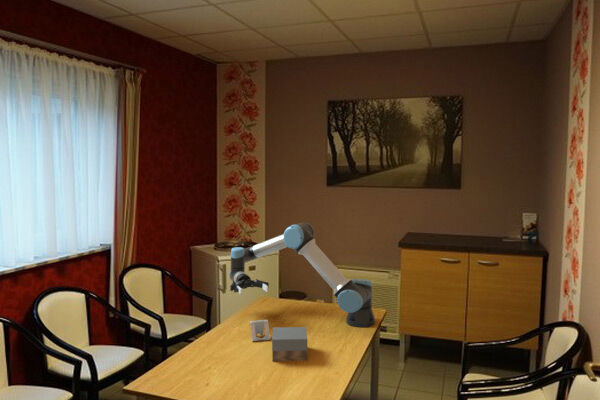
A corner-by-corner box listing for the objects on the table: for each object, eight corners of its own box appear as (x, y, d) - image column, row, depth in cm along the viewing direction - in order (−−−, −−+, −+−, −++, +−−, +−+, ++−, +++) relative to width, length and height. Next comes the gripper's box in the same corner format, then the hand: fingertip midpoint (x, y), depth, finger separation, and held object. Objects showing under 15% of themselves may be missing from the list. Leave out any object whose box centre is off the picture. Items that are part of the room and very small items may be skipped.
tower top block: (306, 337, 223) (306, 327, 223) (307, 350, 208) (307, 339, 208) (273, 338, 223) (273, 327, 222) (272, 351, 208) (272, 339, 207)
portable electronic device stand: (252, 342, 230) (252, 325, 230) (249, 336, 238) (249, 319, 237) (270, 340, 233) (270, 323, 232) (267, 334, 240) (266, 318, 240)
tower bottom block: (305, 348, 224) (305, 337, 224) (307, 361, 209) (307, 350, 209) (272, 348, 223) (272, 338, 223) (272, 362, 208) (272, 351, 208)
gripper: (264, 285, 267) (277, 295, 247) (219, 289, 257) (229, 300, 238) (264, 271, 266) (278, 281, 247) (219, 275, 256) (229, 285, 237)
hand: (254, 290), depth 242 cm, fingers open, 13 cm apart
